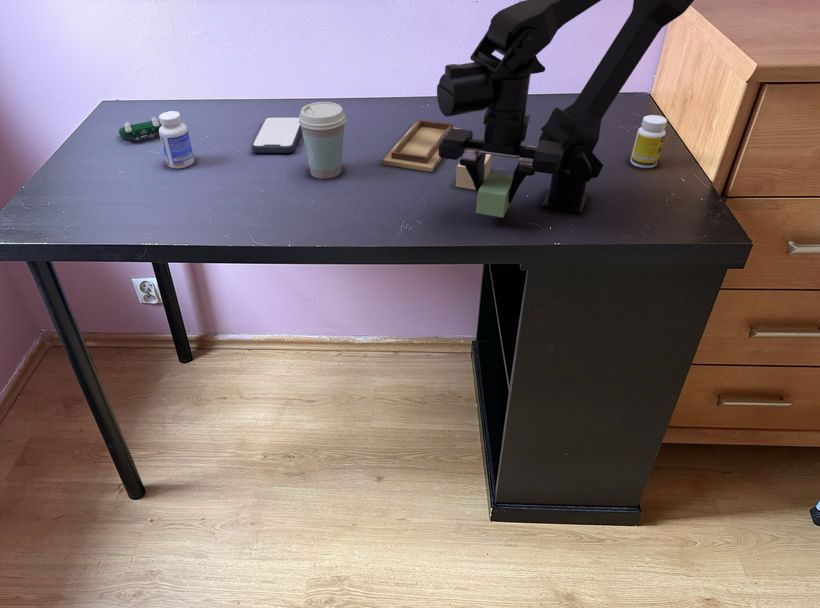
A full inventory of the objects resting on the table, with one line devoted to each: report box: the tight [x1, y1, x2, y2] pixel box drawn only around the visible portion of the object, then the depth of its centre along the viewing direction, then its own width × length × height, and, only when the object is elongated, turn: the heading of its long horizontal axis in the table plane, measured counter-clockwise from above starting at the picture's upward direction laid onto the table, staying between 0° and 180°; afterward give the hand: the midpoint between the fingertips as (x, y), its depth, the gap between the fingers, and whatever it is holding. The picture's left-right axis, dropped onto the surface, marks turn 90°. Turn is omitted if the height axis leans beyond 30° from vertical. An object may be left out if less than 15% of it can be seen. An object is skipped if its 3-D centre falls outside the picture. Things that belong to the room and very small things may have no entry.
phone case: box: [251, 116, 302, 154], centre depth 137 cm, size 9×2×16 cm
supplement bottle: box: [629, 114, 668, 169], centre depth 121 cm, size 5×5×8 cm
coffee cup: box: [298, 101, 347, 180], centre depth 121 cm, size 8×8×12 cm
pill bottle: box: [158, 110, 195, 170], centre depth 127 cm, size 5×5×10 cm
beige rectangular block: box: [455, 154, 493, 191], centre depth 119 cm, size 7×4×4 cm, turn 157°
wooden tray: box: [382, 119, 462, 173], centre depth 131 cm, size 19×10×2 cm, turn 157°
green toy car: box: [118, 116, 162, 142], centre depth 139 cm, size 9×4×6 cm
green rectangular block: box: [475, 171, 513, 218], centre depth 107 cm, size 7×4×4 cm, turn 157°
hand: (495, 199), depth 108 cm, fingers closed on green rectangular block, 4 cm apart
